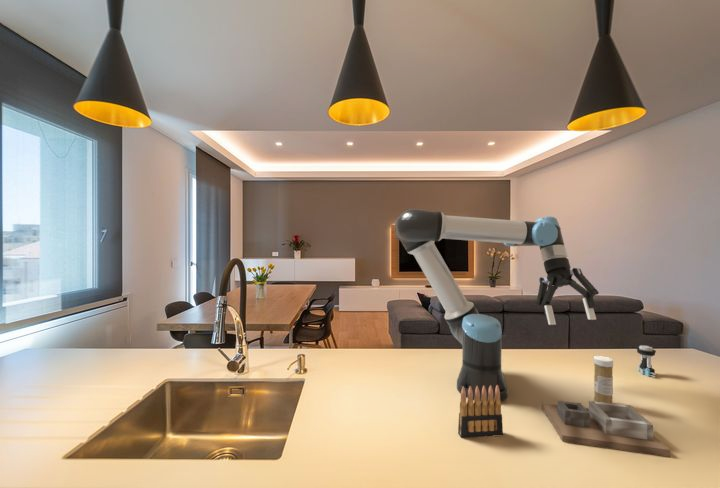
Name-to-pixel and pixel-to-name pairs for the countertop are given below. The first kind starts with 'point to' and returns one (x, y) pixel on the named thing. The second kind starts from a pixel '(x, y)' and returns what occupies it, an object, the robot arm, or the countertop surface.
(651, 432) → the socket board
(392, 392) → the countertop surface
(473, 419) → the ammunition clip
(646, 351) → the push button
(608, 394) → the sprinkles bottle
